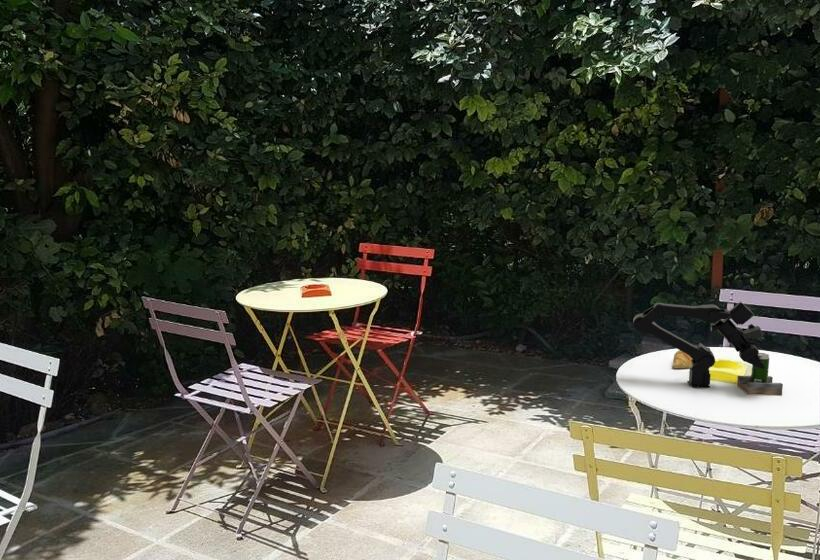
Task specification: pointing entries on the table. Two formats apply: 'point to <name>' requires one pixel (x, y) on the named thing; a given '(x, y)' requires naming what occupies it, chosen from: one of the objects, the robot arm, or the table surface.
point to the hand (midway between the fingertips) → (761, 365)
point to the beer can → (761, 370)
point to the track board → (743, 387)
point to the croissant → (682, 360)
